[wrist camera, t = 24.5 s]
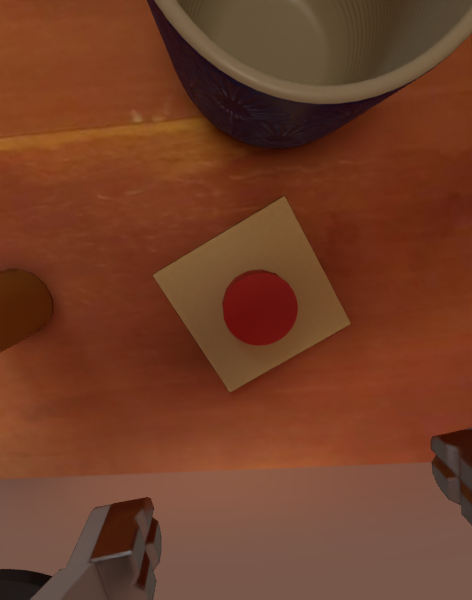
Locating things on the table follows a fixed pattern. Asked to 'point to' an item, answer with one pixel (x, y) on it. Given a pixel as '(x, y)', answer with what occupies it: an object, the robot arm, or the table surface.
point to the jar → (22, 306)
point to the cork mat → (241, 258)
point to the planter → (303, 59)
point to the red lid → (259, 307)
